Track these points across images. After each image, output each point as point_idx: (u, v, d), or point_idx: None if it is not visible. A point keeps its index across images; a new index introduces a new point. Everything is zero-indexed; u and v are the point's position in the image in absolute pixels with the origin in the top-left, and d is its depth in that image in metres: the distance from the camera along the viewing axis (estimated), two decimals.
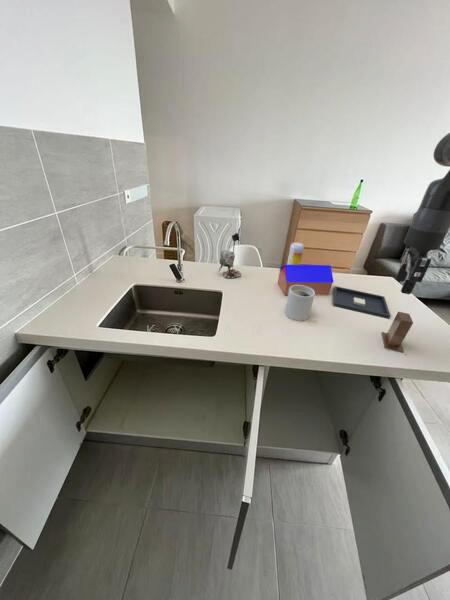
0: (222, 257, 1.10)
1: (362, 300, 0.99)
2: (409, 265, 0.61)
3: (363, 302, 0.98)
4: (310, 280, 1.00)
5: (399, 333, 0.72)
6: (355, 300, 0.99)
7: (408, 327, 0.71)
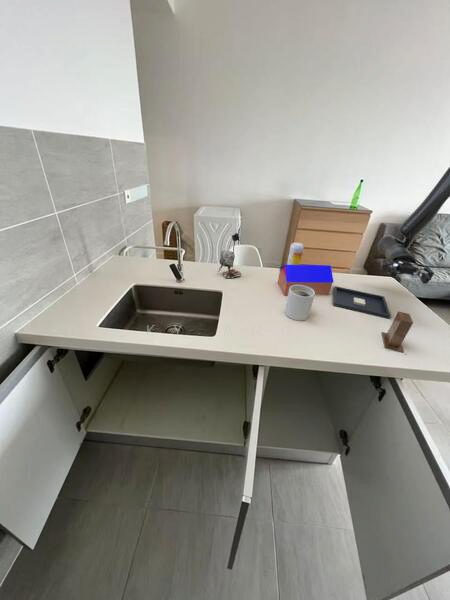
0: (222, 257, 1.10)
1: (362, 300, 0.99)
2: None
3: (363, 302, 0.98)
4: (310, 280, 1.00)
5: (399, 333, 0.72)
6: (355, 300, 0.99)
7: (408, 327, 0.71)
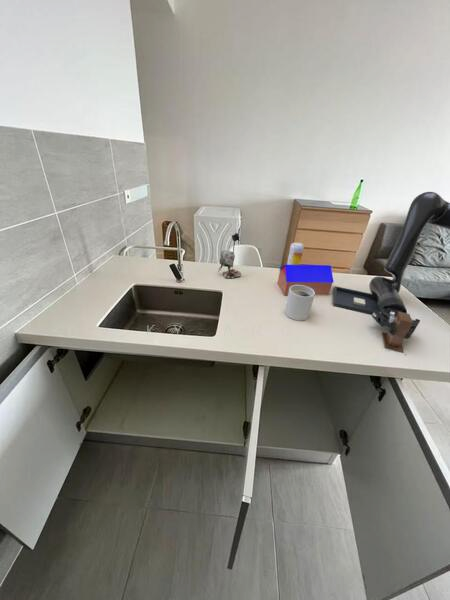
0: (222, 257, 1.10)
1: (362, 300, 0.99)
2: None
3: (363, 302, 0.98)
4: (310, 280, 1.00)
5: (399, 333, 0.72)
6: (355, 300, 0.99)
7: (408, 327, 0.71)
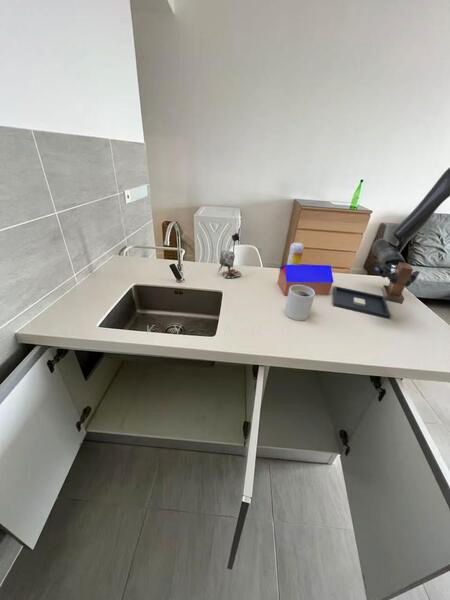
0: (222, 257, 1.10)
1: (362, 300, 0.99)
2: None
3: (363, 302, 0.98)
4: (310, 280, 1.00)
5: (400, 281, 0.77)
6: (355, 300, 0.99)
7: (408, 274, 0.76)
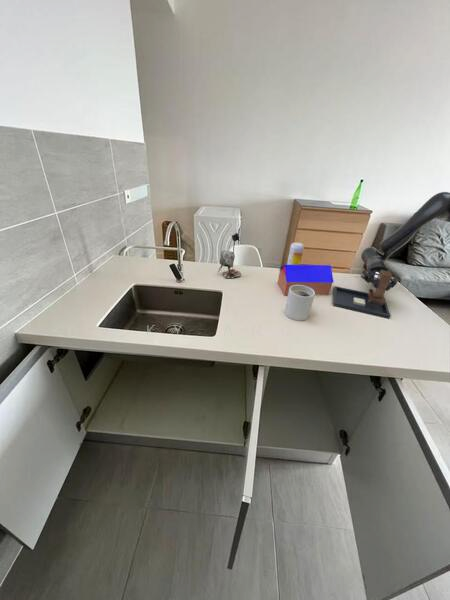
0: (222, 257, 1.10)
1: (362, 300, 0.99)
2: None
3: (363, 302, 0.98)
4: (310, 280, 1.00)
5: (381, 286, 0.91)
6: (355, 300, 0.99)
7: (388, 280, 0.89)
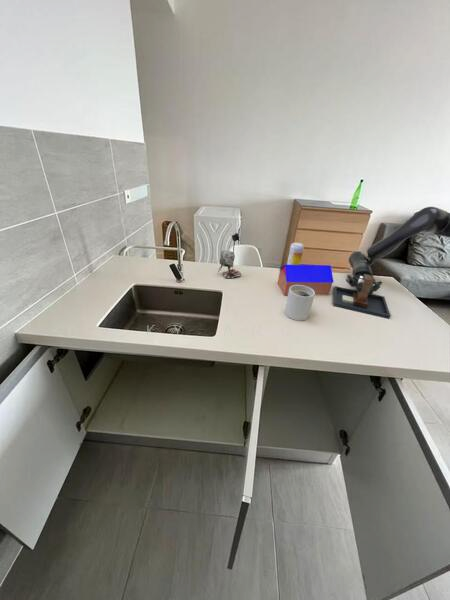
0: (222, 257, 1.10)
1: (350, 298, 1.00)
2: None
3: (351, 300, 0.99)
4: (310, 280, 1.00)
5: (364, 290, 0.94)
6: (343, 298, 1.00)
7: (370, 284, 0.92)
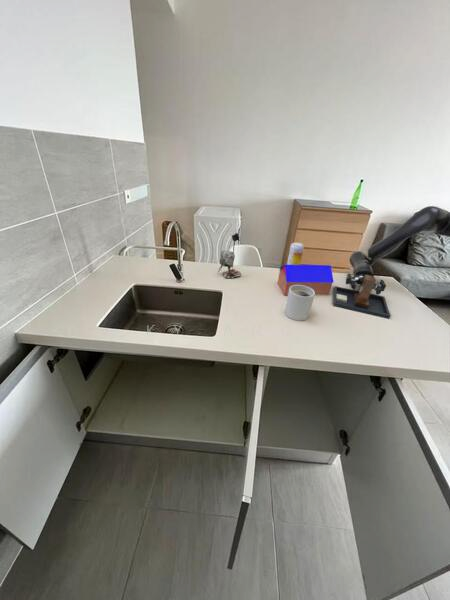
0: (222, 257, 1.10)
1: (344, 296, 1.01)
2: None
3: (345, 298, 0.99)
4: (310, 280, 1.00)
5: (365, 290, 0.93)
6: (337, 296, 1.01)
7: (372, 285, 0.92)
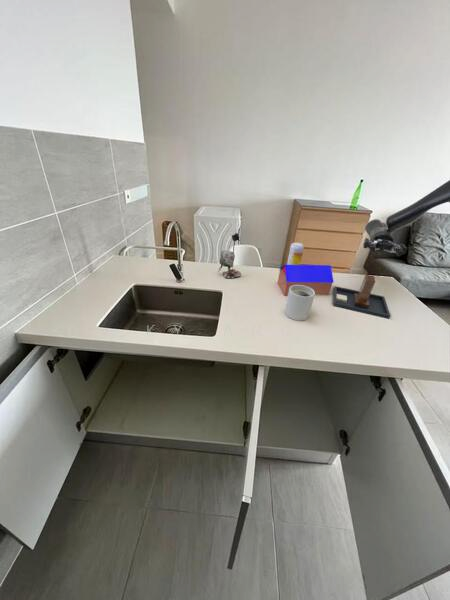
0: (222, 257, 1.10)
1: (344, 296, 1.01)
2: None
3: (345, 298, 0.99)
4: (310, 280, 1.00)
5: (365, 290, 0.93)
6: (337, 296, 1.01)
7: (372, 285, 0.92)
